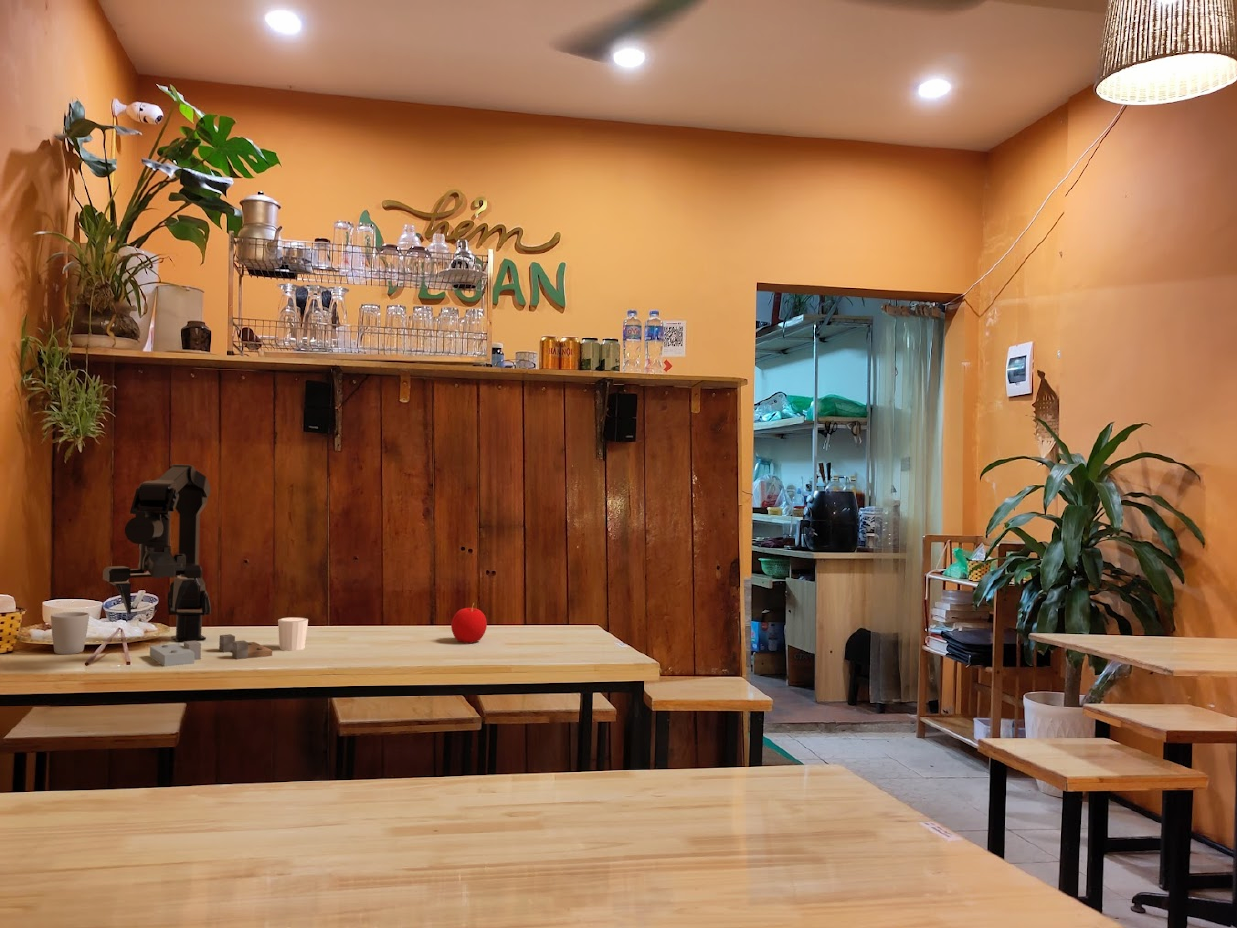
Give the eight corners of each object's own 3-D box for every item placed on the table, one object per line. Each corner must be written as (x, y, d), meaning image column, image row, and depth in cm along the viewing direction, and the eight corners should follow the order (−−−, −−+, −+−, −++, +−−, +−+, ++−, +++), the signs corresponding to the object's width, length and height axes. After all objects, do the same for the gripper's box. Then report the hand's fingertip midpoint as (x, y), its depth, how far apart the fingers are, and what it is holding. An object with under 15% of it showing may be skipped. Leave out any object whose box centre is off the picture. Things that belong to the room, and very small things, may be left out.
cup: (45, 655, 208) (46, 617, 208) (56, 647, 218) (58, 610, 218) (84, 654, 211) (85, 616, 211) (93, 646, 220) (95, 610, 220)
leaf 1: (164, 667, 202) (165, 650, 202) (149, 657, 211) (150, 641, 211) (206, 662, 208) (206, 646, 208) (189, 652, 217) (190, 637, 217)
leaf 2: (236, 659, 212) (237, 643, 212) (219, 650, 221) (219, 635, 221) (272, 655, 217) (272, 640, 217) (253, 646, 226) (254, 632, 226)
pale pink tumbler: (311, 646, 229) (313, 617, 229) (299, 651, 222) (300, 622, 222) (284, 645, 230) (285, 616, 230) (271, 650, 223) (272, 620, 223)
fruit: (483, 645, 238) (484, 605, 238) (447, 644, 238) (449, 604, 238) (488, 638, 247) (490, 600, 247) (454, 637, 247) (455, 599, 247)
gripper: (118, 544, 192) (115, 621, 192) (212, 542, 205) (209, 614, 205) (103, 540, 201) (100, 613, 201) (195, 538, 213) (192, 607, 213)
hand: (152, 612), depth 205 cm, fingers open, 9 cm apart
